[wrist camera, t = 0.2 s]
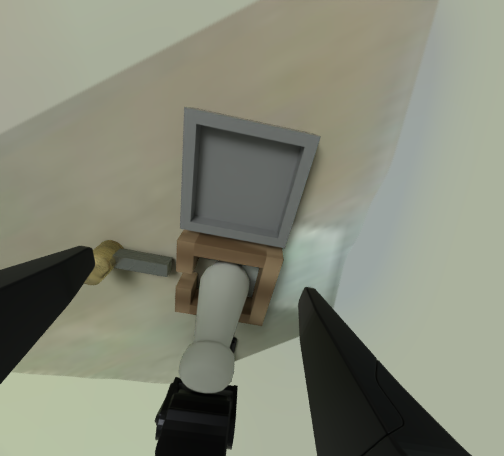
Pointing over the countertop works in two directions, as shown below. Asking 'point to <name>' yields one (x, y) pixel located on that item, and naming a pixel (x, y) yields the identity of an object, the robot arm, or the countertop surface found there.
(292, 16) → the countertop surface
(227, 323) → the salt shaker
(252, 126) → the tray
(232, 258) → the socket block
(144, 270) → the key
